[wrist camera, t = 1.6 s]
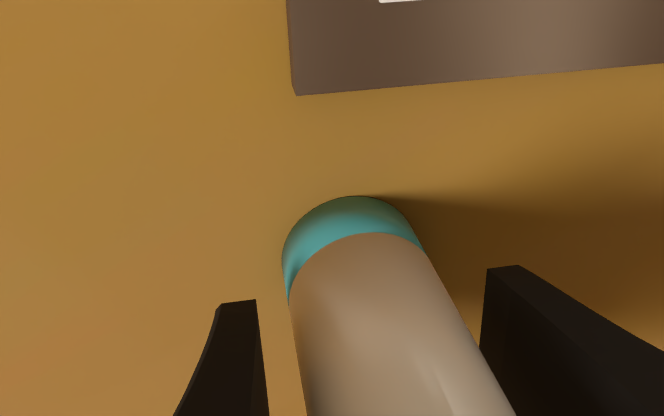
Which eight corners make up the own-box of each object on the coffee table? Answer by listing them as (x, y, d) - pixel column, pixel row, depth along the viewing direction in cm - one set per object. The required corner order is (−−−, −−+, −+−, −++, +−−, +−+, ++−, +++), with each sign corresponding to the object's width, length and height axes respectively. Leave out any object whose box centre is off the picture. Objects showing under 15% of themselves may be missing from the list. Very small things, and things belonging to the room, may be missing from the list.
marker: (417, 189, 13) (725, 664, 5) (413, 302, 14) (649, 808, 7) (276, 204, 13) (375, 743, 5) (286, 319, 14) (376, 878, 6)
